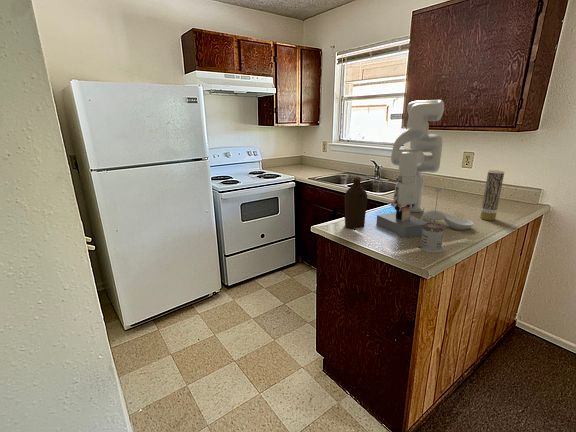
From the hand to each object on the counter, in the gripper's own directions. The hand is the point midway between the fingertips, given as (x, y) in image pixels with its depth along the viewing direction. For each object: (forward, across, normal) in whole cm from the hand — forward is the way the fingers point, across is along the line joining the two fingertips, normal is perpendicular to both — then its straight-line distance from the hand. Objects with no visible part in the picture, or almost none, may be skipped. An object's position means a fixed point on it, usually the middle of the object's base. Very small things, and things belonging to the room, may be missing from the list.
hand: (402, 217), depth 145 cm
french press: (+7, -2, -20) cm, 21 cm away
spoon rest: (+7, +24, -3) cm, 26 cm away
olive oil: (+7, -17, +14) cm, 23 cm away
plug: (+5, 0, 0) cm, 5 cm away
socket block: (+7, 0, 0) cm, 7 cm away
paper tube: (+7, +53, -3) cm, 54 cm away
